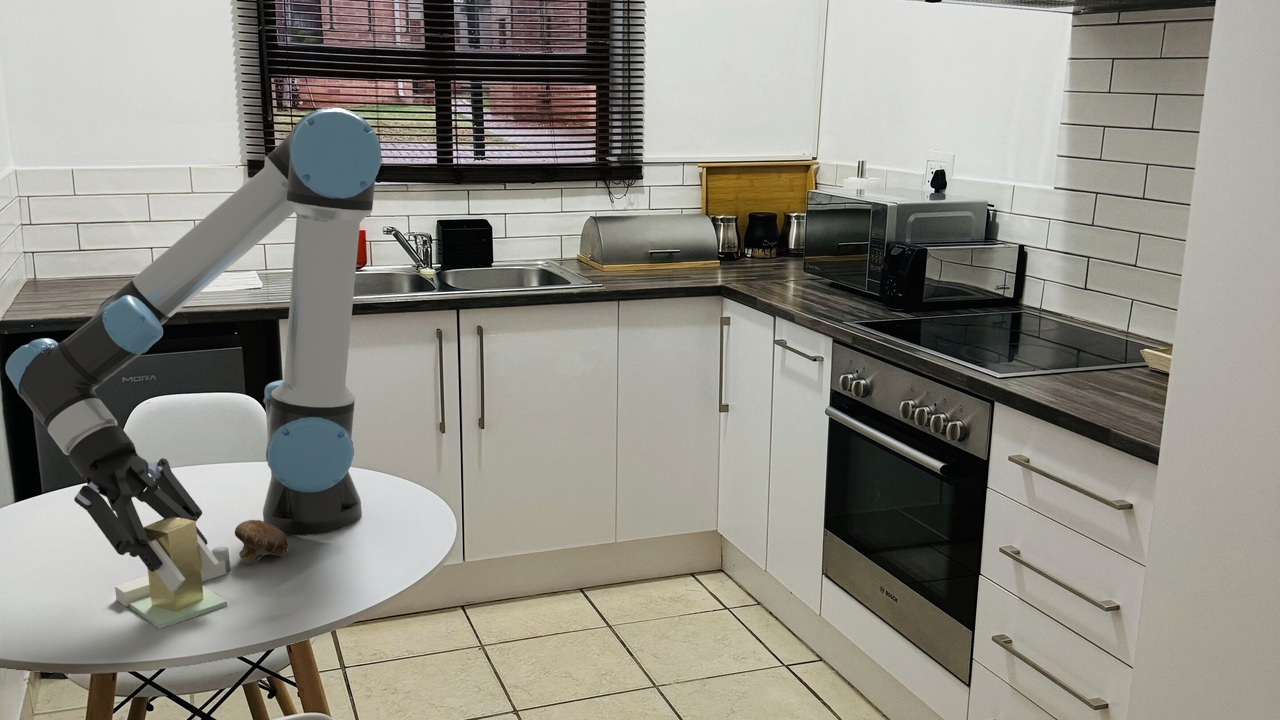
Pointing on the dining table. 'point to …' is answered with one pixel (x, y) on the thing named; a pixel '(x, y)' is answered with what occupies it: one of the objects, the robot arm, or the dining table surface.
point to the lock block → (176, 563)
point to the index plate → (168, 617)
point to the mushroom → (260, 540)
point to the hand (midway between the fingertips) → (195, 577)
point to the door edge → (141, 586)
